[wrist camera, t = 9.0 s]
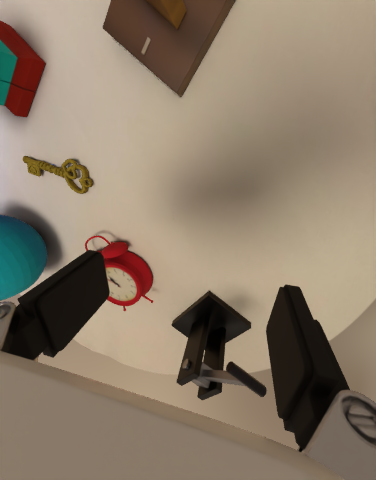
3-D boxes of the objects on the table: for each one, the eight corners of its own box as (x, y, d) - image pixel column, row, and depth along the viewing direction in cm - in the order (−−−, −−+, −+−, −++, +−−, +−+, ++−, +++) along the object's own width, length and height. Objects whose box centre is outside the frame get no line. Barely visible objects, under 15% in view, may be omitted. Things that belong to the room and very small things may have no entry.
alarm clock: (119, 316, 38) (54, 268, 31) (130, 291, 43) (76, 244, 36) (159, 304, 34) (94, 245, 27) (166, 277, 39) (113, 221, 32)
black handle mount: (209, 290, 35) (196, 352, 24) (250, 322, 36) (255, 395, 25) (173, 320, 40) (150, 380, 30) (209, 347, 41) (199, 415, 31)
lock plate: (157, -93, 17) (147, -122, 15) (241, -10, 18) (241, -28, 16) (113, 37, 22) (101, 26, 20) (181, 97, 23) (175, 93, 21)
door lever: (235, 355, 22) (229, 379, 20) (268, 380, 22) (265, 404, 21) (186, 357, 31) (180, 373, 29) (210, 374, 31) (205, 391, 30)
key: (23, 173, 31) (18, 140, 29) (30, 172, 33) (26, 140, 30) (88, 198, 31) (90, 166, 28) (93, 196, 32) (95, 166, 29)
